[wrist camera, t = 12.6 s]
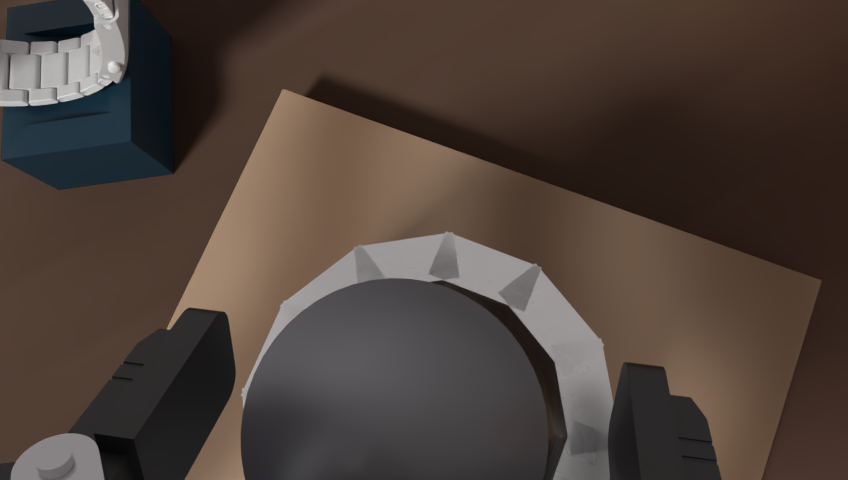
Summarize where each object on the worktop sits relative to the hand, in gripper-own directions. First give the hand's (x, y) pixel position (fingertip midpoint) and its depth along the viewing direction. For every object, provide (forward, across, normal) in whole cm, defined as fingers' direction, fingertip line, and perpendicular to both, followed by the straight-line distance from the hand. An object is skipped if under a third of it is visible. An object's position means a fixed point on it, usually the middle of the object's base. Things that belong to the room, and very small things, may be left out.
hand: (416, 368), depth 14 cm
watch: (+12, +13, 0) cm, 18 cm away
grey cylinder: (+4, 0, +6) cm, 7 cm away
